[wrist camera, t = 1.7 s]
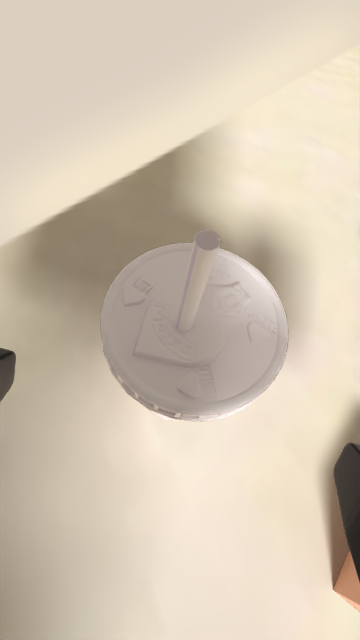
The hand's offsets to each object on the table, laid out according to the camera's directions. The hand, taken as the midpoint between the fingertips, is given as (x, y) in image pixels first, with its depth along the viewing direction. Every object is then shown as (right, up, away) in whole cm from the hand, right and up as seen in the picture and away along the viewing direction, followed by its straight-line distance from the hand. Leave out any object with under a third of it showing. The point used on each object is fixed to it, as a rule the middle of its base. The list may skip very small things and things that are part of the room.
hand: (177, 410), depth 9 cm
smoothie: (0, -2, +11) cm, 11 cm away
